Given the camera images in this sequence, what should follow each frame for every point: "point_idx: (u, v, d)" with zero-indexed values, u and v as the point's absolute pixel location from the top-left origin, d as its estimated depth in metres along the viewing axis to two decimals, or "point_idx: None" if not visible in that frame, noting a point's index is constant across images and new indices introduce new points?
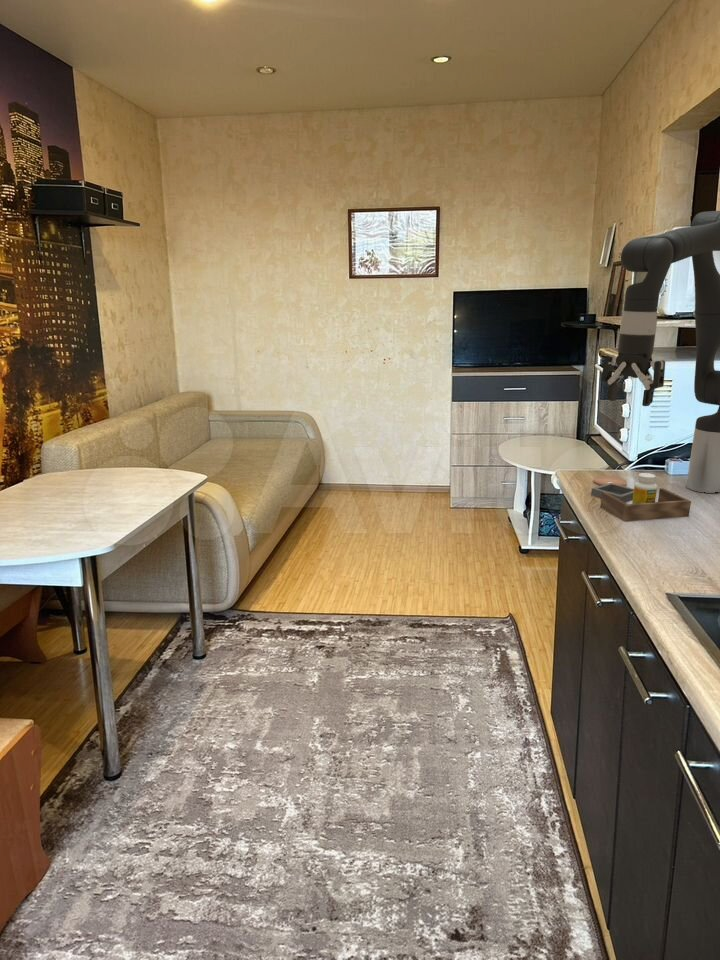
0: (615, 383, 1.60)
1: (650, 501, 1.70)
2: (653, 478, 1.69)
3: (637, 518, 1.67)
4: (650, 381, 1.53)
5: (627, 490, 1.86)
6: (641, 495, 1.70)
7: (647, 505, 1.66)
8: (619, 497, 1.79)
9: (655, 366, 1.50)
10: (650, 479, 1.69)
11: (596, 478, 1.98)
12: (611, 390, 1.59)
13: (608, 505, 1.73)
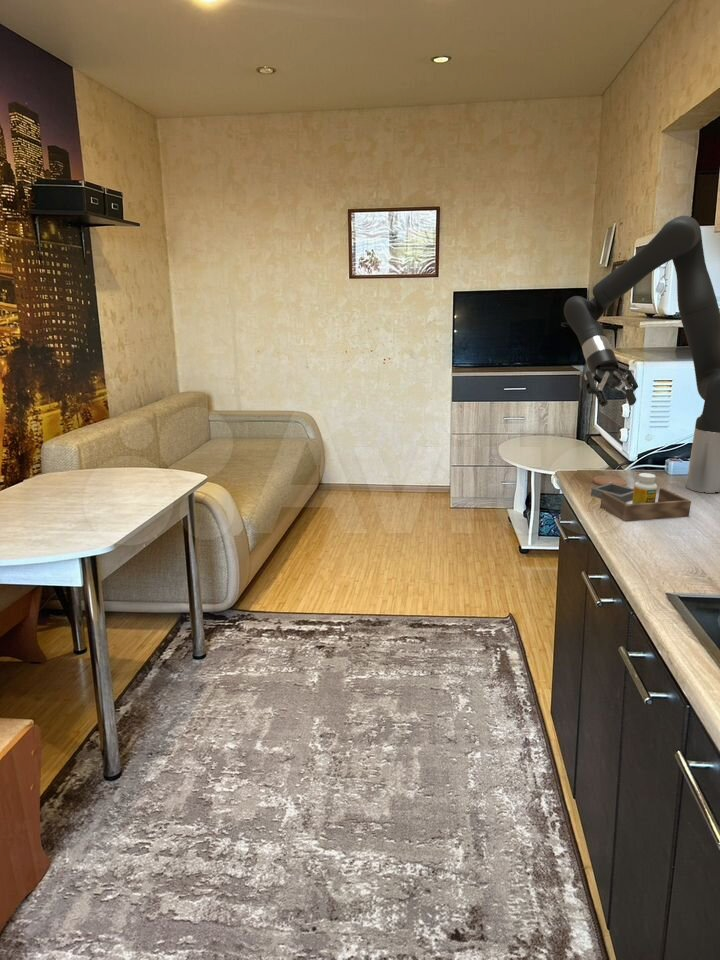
0: (627, 391, 1.84)
1: (650, 501, 1.70)
2: (653, 478, 1.69)
3: (637, 518, 1.67)
4: None
5: (627, 490, 1.86)
6: (641, 495, 1.70)
7: (647, 505, 1.66)
8: (619, 497, 1.79)
9: None
10: (650, 479, 1.69)
11: (596, 478, 1.98)
12: None
13: (608, 505, 1.73)
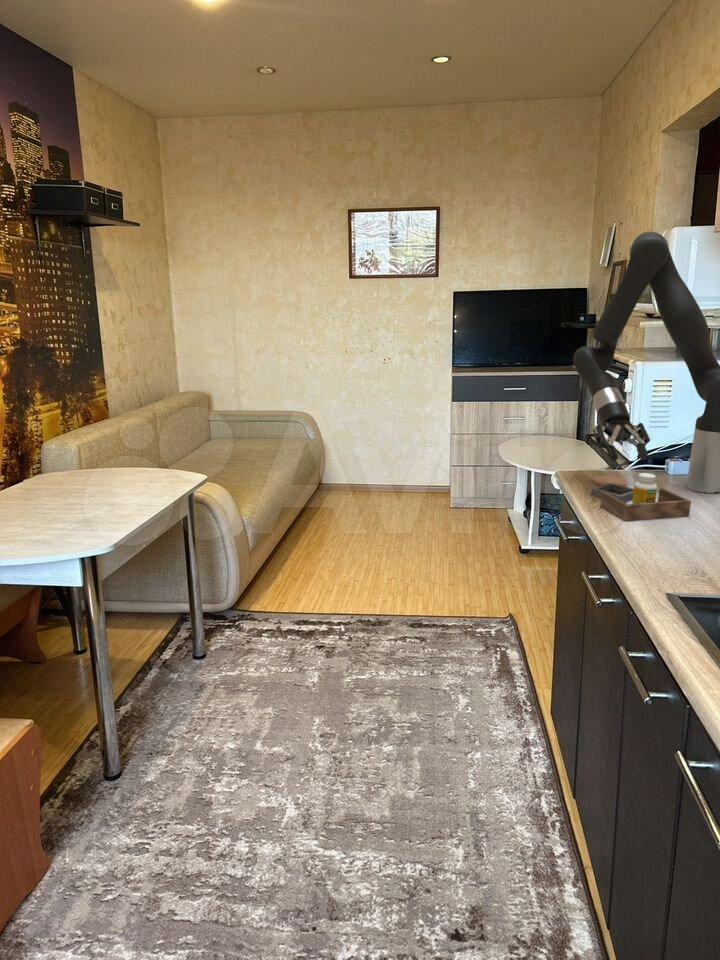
0: (639, 445, 1.80)
1: (650, 501, 1.70)
2: (653, 478, 1.69)
3: (637, 518, 1.67)
4: None
5: (627, 490, 1.86)
6: (641, 495, 1.70)
7: (647, 505, 1.66)
8: (619, 497, 1.79)
9: None
10: (650, 479, 1.69)
11: (596, 478, 1.98)
12: None
13: (608, 505, 1.73)
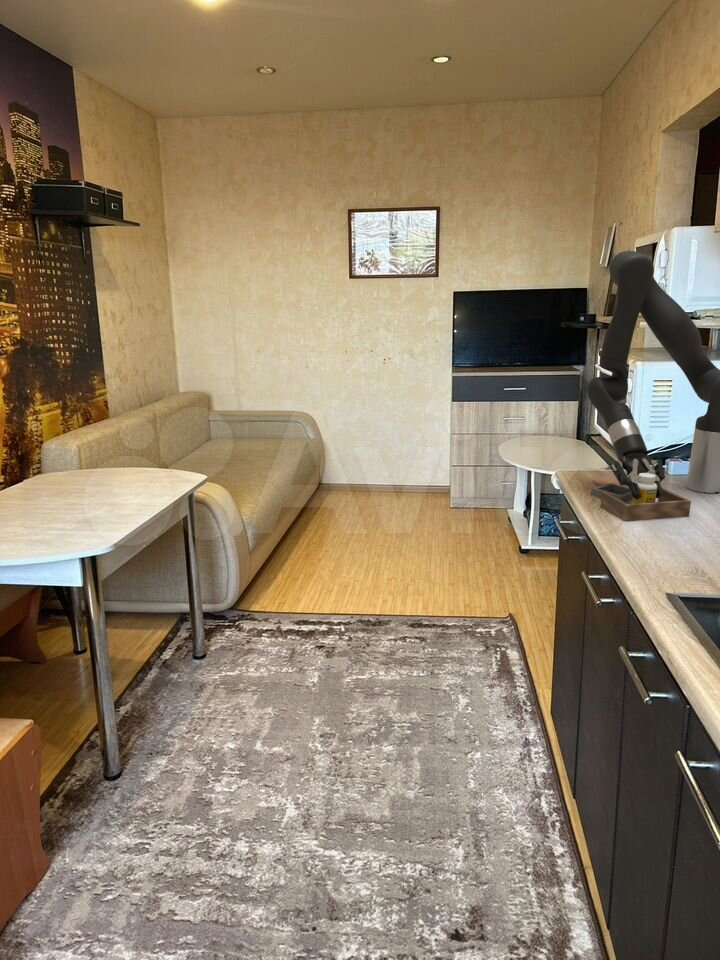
0: None
1: (650, 501, 1.70)
2: (653, 478, 1.69)
3: (637, 518, 1.67)
4: None
5: (627, 490, 1.86)
6: None
7: (647, 505, 1.66)
8: (619, 497, 1.79)
9: None
10: (650, 479, 1.69)
11: (596, 478, 1.98)
12: None
13: (608, 505, 1.73)
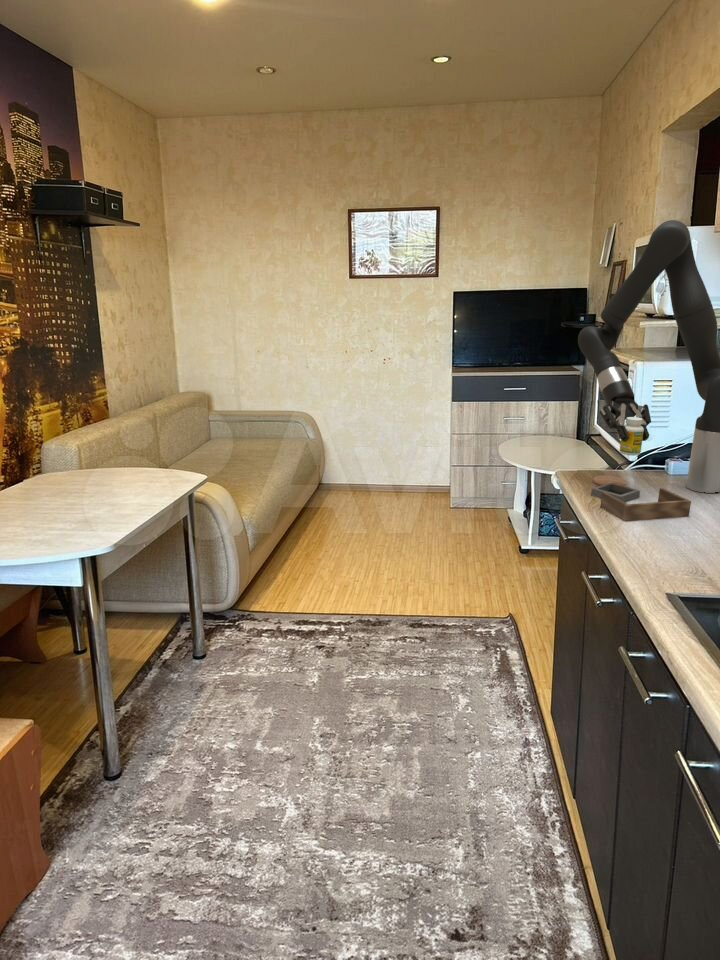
0: None
1: (637, 443, 1.79)
2: (640, 421, 1.78)
3: (637, 518, 1.67)
4: None
5: (627, 490, 1.86)
6: (629, 437, 1.79)
7: (647, 505, 1.66)
8: (619, 497, 1.79)
9: None
10: (637, 422, 1.78)
11: (596, 478, 1.98)
12: None
13: (608, 505, 1.73)
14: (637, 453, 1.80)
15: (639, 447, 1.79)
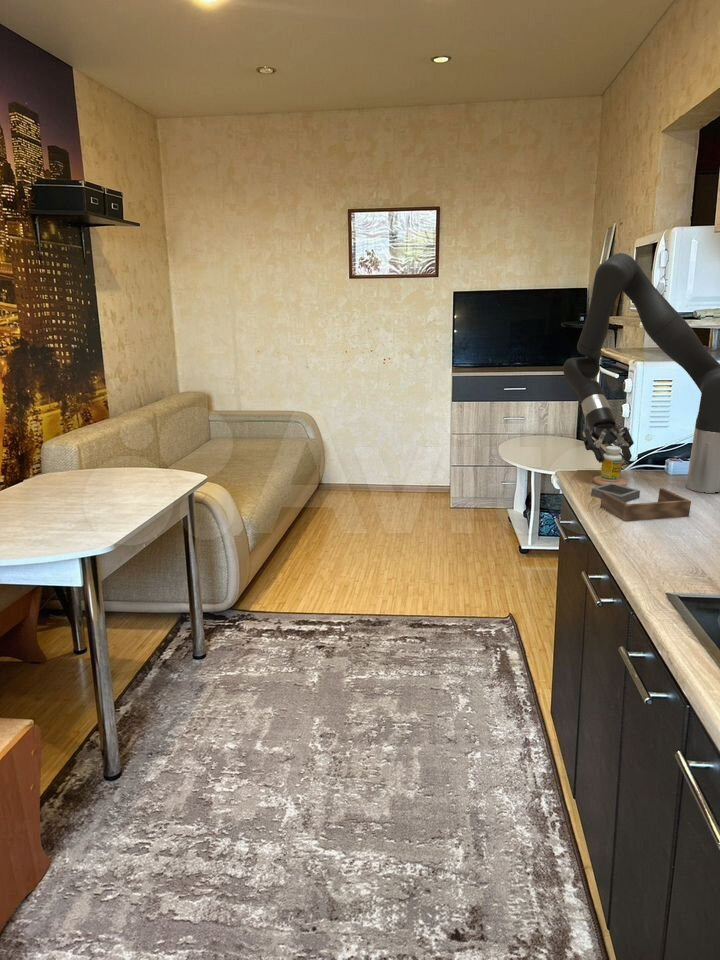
0: (623, 447, 1.96)
1: (616, 470, 1.93)
2: (618, 450, 1.92)
3: (637, 518, 1.67)
4: None
5: (627, 490, 1.86)
6: (608, 465, 1.93)
7: (647, 505, 1.66)
8: (619, 497, 1.79)
9: None
10: (615, 451, 1.92)
11: (596, 478, 1.98)
12: None
13: (608, 505, 1.73)
14: (616, 480, 1.94)
15: (618, 474, 1.94)
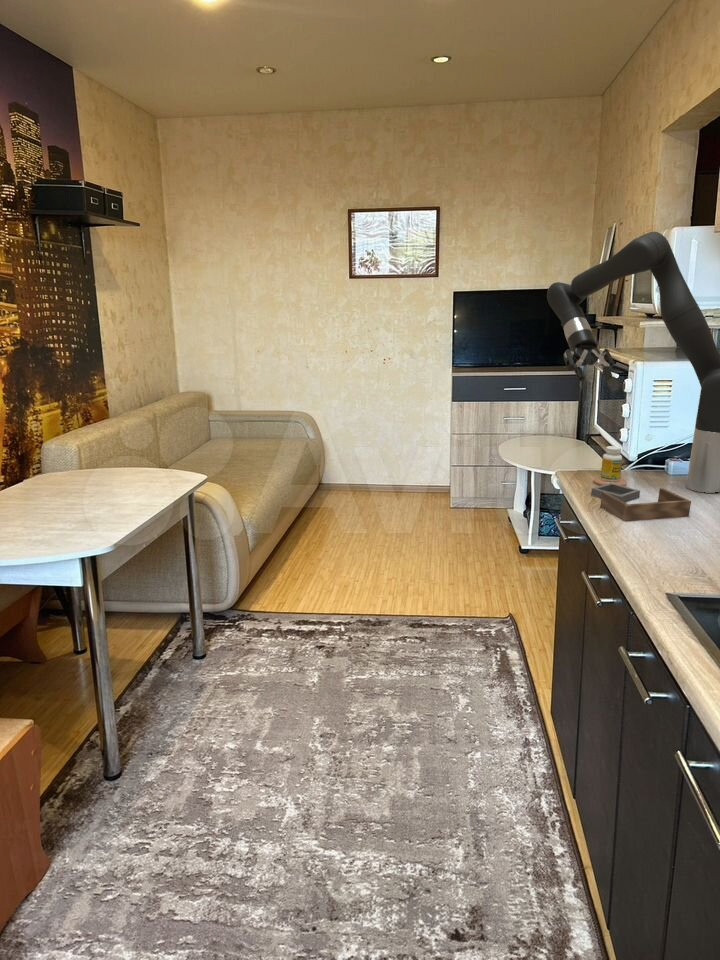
0: (604, 368, 2.00)
1: (616, 470, 1.93)
2: (618, 450, 1.92)
3: (637, 518, 1.67)
4: None
5: (627, 490, 1.86)
6: (608, 465, 1.93)
7: (647, 505, 1.66)
8: (619, 497, 1.79)
9: None
10: (616, 451, 1.92)
11: (596, 478, 1.98)
12: None
13: (608, 505, 1.73)
14: (616, 480, 1.94)
15: (618, 474, 1.94)
